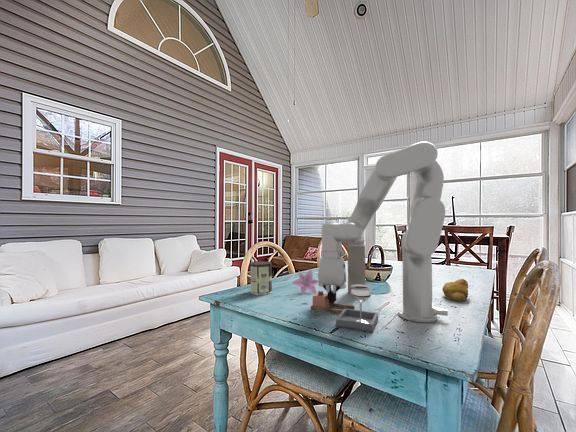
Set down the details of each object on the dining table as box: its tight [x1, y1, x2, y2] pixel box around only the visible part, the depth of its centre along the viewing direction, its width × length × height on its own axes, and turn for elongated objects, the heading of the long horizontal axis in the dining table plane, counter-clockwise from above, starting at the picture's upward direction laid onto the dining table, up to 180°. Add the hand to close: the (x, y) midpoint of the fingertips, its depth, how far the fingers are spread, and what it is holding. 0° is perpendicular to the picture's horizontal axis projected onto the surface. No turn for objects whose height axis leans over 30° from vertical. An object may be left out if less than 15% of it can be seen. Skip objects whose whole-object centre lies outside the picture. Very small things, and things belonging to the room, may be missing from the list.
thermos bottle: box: [347, 236, 367, 295], centre depth 131 cm, size 8×8×28 cm
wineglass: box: [350, 283, 372, 323], centre depth 94 cm, size 7×7×12 cm
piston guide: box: [310, 302, 356, 315], centre depth 107 cm, size 15×10×2 cm
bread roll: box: [442, 278, 469, 302], centre depth 121 cm, size 13×10×8 cm
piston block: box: [312, 290, 330, 308], centre depth 110 cm, size 5×5×6 cm
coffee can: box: [249, 260, 273, 296], centre depth 135 cm, size 10×10×14 cm
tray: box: [335, 309, 379, 334], centre depth 94 cm, size 12×12×2 cm
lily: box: [291, 269, 319, 295], centre depth 135 cm, size 12×12×10 cm
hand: (332, 302), depth 108 cm, fingers closed
